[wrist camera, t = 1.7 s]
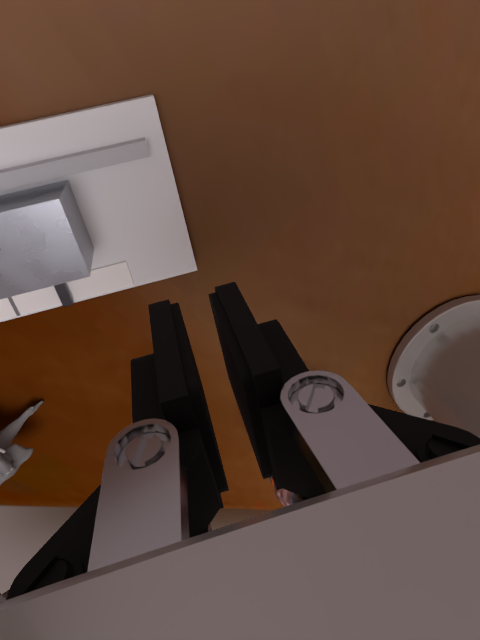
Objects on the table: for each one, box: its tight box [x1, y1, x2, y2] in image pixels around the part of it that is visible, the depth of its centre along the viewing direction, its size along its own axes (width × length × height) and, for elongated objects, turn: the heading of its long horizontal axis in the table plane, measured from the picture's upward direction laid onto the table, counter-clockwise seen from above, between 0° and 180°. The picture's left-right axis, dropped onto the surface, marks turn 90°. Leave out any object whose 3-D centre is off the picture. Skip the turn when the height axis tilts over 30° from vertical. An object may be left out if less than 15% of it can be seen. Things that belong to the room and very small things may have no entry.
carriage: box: [0, 180, 94, 307], centre depth 23 cm, size 5×7×4 cm
